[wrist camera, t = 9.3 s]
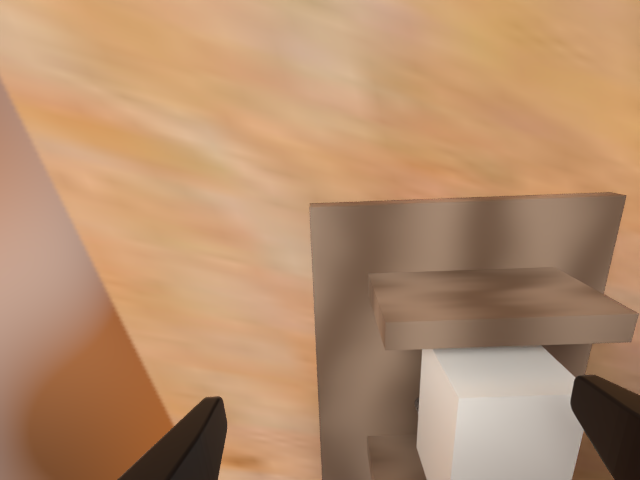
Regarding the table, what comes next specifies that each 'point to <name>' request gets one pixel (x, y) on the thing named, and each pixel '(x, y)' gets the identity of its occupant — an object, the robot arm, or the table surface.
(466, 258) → the rack
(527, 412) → the white rectangular block
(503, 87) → the table surface
